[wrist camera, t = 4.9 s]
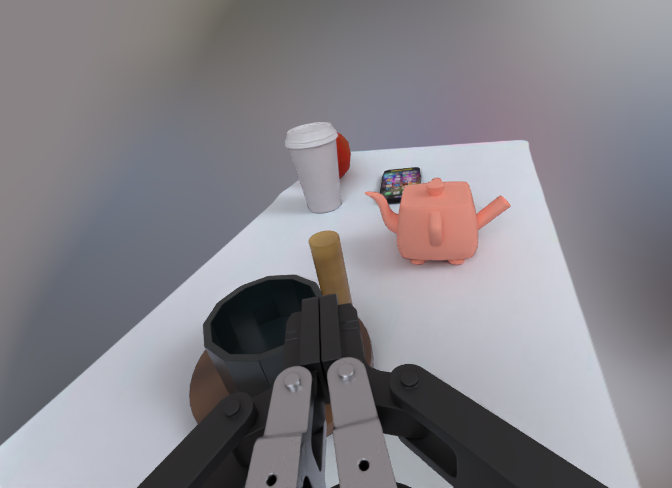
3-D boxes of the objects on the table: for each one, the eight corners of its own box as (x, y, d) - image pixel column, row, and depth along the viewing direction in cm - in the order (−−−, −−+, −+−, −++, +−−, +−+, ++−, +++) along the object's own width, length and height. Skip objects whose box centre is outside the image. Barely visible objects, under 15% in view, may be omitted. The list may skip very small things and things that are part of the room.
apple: (359, 180, 77) (351, 127, 71) (315, 191, 76) (303, 138, 70) (347, 167, 86) (340, 118, 80) (308, 177, 85) (297, 128, 79)
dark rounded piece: (160, 391, 35) (78, 268, 28) (286, 289, 46) (252, 180, 39) (280, 511, 24) (198, 363, 17) (407, 340, 35) (394, 203, 28)
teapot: (449, 218, 56) (449, 157, 51) (510, 249, 46) (517, 177, 41) (372, 250, 52) (363, 187, 47) (421, 292, 42) (416, 218, 37)
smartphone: (377, 199, 64) (383, 170, 76) (378, 204, 65) (383, 174, 77) (421, 196, 62) (420, 166, 75) (421, 201, 63) (420, 170, 75)
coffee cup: (291, 212, 69) (271, 136, 61) (322, 192, 74) (307, 120, 67) (328, 220, 63) (311, 137, 55) (358, 198, 69) (347, 120, 61)
